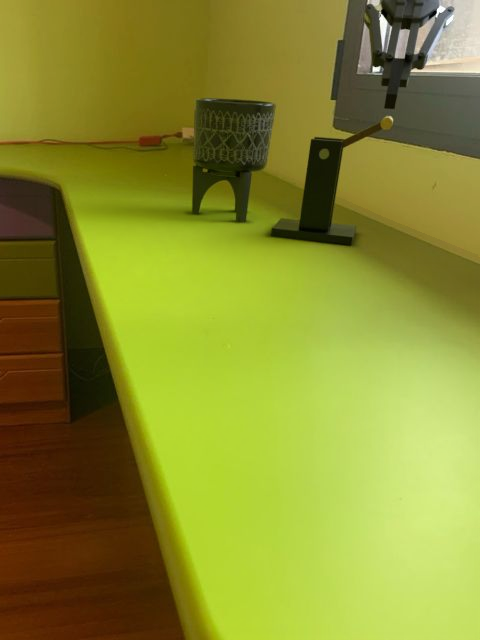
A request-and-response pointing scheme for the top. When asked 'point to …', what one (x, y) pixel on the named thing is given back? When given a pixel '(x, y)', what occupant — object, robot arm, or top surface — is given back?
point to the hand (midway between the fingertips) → (390, 101)
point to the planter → (230, 146)
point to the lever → (369, 131)
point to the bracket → (319, 198)
